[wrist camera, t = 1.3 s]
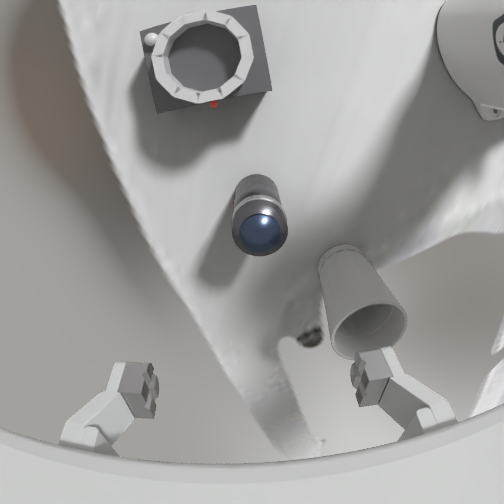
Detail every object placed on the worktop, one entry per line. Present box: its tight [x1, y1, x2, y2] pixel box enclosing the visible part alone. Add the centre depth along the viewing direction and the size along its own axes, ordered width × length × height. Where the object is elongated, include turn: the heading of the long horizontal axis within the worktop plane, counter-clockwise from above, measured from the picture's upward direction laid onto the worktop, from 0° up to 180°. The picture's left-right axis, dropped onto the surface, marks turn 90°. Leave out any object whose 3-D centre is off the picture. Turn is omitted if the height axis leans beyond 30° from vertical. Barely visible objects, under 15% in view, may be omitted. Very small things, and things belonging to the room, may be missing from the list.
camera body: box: [140, 5, 272, 114], centre depth 24 cm, size 10×9×7 cm
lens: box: [232, 174, 288, 256], centre depth 30 cm, size 5×5×9 cm
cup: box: [317, 244, 407, 360], centre depth 34 cm, size 8×8×12 cm
